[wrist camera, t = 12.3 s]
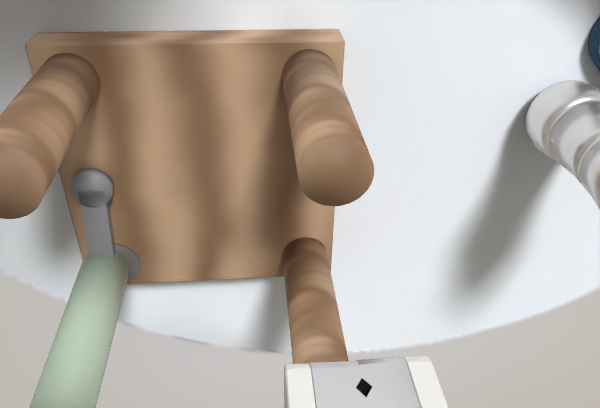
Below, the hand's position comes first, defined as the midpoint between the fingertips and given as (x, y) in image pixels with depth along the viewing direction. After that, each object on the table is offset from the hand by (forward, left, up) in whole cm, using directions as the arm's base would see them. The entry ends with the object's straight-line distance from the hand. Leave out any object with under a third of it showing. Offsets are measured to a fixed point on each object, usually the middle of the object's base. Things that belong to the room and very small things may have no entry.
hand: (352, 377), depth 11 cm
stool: (+8, -13, -34) cm, 37 cm away
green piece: (+7, -23, -31) cm, 39 cm away
